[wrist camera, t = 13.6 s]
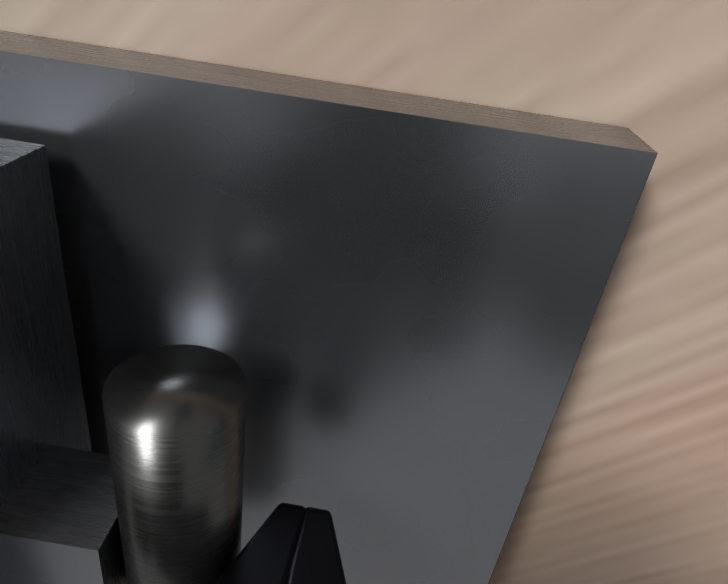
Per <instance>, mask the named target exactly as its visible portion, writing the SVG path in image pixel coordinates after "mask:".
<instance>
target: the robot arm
mask: <svg viewBox="0 0 728 584" xmlns="http://www.w3.org/2000/svg"><path fill="white" fill-rule="evenodd" d="M215 584H346V579H345V575H344V570H343V565H342V561H341V556H340V551H339V547H338V542H337V537H336V532H335V528H334V523H333V518H332V515H331V513H330V511H328V510H325V509H319V508H313V507H307V508H305V507H304V506H301V505H295V504H289V503H281V504H279V505H278V506H277V507H276V508H275V509H274V511H273V512H272V513H271V514H270V516H269V517H268V518H267V519H266V521H265V522H264V523H263V524H262V526H261V527H260V528H259V529H258V531H257V532H256V533H255V534H254V536H253V537H252V538H251V539H250V541H249V542H248V543H247V544H246V546H245V547H244V548H243V549H242V551H241V552H240V553H239V554H238V556H237V557H236V558H235V559H234V561H233V562H232V563H231V564H230V566H229V567H228V568H227V569H226V571H225V572H224V573H223V574H222V576H221V577H220V578H219V579H218V581H217V582H216V583H215Z"/></svg>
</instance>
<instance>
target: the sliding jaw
mask: <svg viewBox="0 0 728 584" xmlns="http://www.w3.org/2000/svg"><path fill="white" fill-rule="evenodd" d="M246 387H247V384H246V377H245V374H244V372H243V370H242V368H241V367H240V366H239V364H238V363H237V362H236V361H235V360H234V359H232V358H231V357H229V356H228V355H226V354H224V353H222V352H220V351H218V350H215V349H212V348H209V347H204V346H199V345H188V344H176V345H166V346H160V347H156V348H152V349H148V350H146V351H143V352H140V353H138V354H136V355H133V356H132V357H130V358H128V359H126V360H125V361H123V362H122V363H120V364H119V365H118V366H117V367H116V368H115V369H114V370H113V371H112V372H111V373H110V374H109V376H108V377H107V379H106V381H105V383H104V386H103V390H102V401H103V408H104V416H105V424H106V431H107V439H108V446H109V454H110V455H107V454H101V453H95V452H92V448H91V442H90V435H89V428H88V422H87V415H86V409H85V402H84V396H83V389H82V382H81V376H80V369H79V363H78V356H77V350H76V343H75V337H74V330H73V323H72V317H71V310H70V304H69V297H68V291H67V284H66V278H65V271H64V264H63V258H62V251H61V245H60V238H59V232H58V225H57V219H56V212H55V205H54V199H53V192H52V186H51V179H50V173H49V166H48V160H47V153H46V146H45V145H41V144H35V143H29V142H22V141H16V140H10V139H4V138H0V584H126V583H127V584H215V583H216V582H217V581H218V579H219V578H220V577H221V576H222V574H223V573H224V572H225V571H226V569H227V568H228V567H229V566H230V564H231V563H232V562H233V561H234V559H235V558H236V557H237V556H238V554H239V553H240V552H241V537H242V507H243V477H244V447H245V417H246Z"/></svg>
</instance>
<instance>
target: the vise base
mask: <svg viewBox="0 0 728 584" xmlns="http://www.w3.org/2000/svg"><path fill="white" fill-rule="evenodd" d="M0 138H4V139H10V140H16V141H22V142H29V143H35V144H41V145H45V146H46V153H47V160H48V166H49V173H50V179H51V186H52V192H53V199H54V205H55V212H56V219H57V225H58V232H59V238H60V245H61V251H62V258H63V264H64V271H65V278H66V284H67V291H68V297H69V304H70V310H71V317H72V323H73V330H74V337H75V343H76V350H77V356H78V363H79V369H80V376H81V382H82V389H83V396H84V402H85V409H86V415H87V422H88V428H89V435H90V442H91V448H92V452H95V453H101V454H107V455H110V454H109V446H108V439H107V431H106V424H105V416H104V408H103V401H102V390H103V386H104V383H105V381H106V379H107V377H108V376H109V374H110V373H111V372H112V371H113V370H114V369H115V368H116V367H117V366H118V365H119V364H120V363H122V362H123V361H125V360H126V359H128V358H130V357H132V356H133V355H136V354H138V353H140V352H143V351H146V350H148V349H152V348H156V347H160V346H166V345H176V344H188V345H199V346H204V347H209V348H212V349H215V350H218V351H220V352H222V353H224V354H226V355H228V356H229V357H231V358H232V359H234V360H235V361H236V362H237V363H238V364H239V366H240V367H241V368H242V370H243V372H244V374H245V377H246V384H247V387H246V417H245V447H244V477H243V507H242V537H241V551H242V549H243V548H244V547H245V546H246V544H247V543H248V542H249V541H250V539H251V538H252V537H253V536H254V534H255V533H256V532H257V531H258V529H259V528H260V527H261V526H262V524H263V523H264V522H265V521H266V519H267V518H268V517H269V516H270V514H271V513H272V512H273V511H274V509H275V508H276V507H277V506H278V505H279V504H281V503H289V504H295V505H301V506H304V507H305V508H307V507H313V508H319V509H325V510H328V511H330V513H331V515H332V518H333V523H334V528H335V532H336V537H337V542H338V547H339V551H340V556H341V561H342V565H343V570H344V575H345V579H346V584H488V582H489V580H490V577H491V575H492V572H493V569H494V567H495V564H496V562H497V559H498V557H499V554H500V552H501V549H502V547H503V544H504V542H505V539H506V537H507V534H508V531H509V529H510V526H511V524H512V521H513V519H514V516H515V514H516V511H517V509H518V506H519V504H520V501H521V498H522V496H523V493H524V491H525V488H526V486H527V483H528V481H529V478H530V476H531V473H532V471H533V468H534V465H535V463H536V460H537V458H538V455H539V453H540V450H541V448H542V445H543V443H544V440H545V438H546V435H547V433H548V430H549V427H550V425H551V422H552V420H553V417H554V415H555V412H556V410H557V407H558V405H559V402H560V400H561V397H562V394H563V392H564V389H565V387H566V384H567V382H568V379H569V377H570V374H571V372H572V369H573V367H574V364H575V361H576V359H577V356H578V354H579V351H580V349H581V346H582V344H583V341H584V339H585V336H586V334H587V331H588V329H589V326H590V323H591V321H592V318H593V316H594V313H595V311H596V308H597V306H598V303H599V301H600V298H601V296H602V293H603V290H604V288H605V285H606V283H607V280H608V278H609V275H610V273H611V270H612V268H613V265H614V263H615V260H616V258H617V255H618V252H619V250H620V247H621V245H622V242H623V240H624V237H625V235H626V232H627V230H628V227H629V225H630V222H631V219H632V217H633V214H634V212H635V209H636V207H637V204H638V202H639V199H640V197H641V194H642V192H643V189H644V186H645V184H646V181H647V179H648V176H649V174H650V171H651V169H652V166H653V164H654V161H655V159H656V156H657V154H658V153H657V152H656V151H654V150H653V149H652V148H651V147H650V146H649V145H647V144H646V143H645V142H644V141H643V140H641V139H640V138H639V137H638V136H637V135H636V134H634V133H633V132H632V131H631V130H630V129H628V128H624V127H618V126H611V125H605V124H599V123H592V122H586V121H579V120H573V119H566V118H560V117H554V116H547V115H541V114H534V113H528V112H521V111H515V110H508V109H502V108H496V107H489V106H483V105H476V104H470V103H463V102H457V101H450V100H444V99H438V98H431V97H425V96H418V95H412V94H405V93H399V92H393V91H386V90H380V89H373V88H367V87H360V86H354V85H347V84H341V83H335V82H328V81H322V80H315V79H309V78H302V77H296V76H289V75H283V74H277V73H270V72H264V71H257V70H251V69H244V68H238V67H231V66H225V65H219V64H212V63H206V62H199V61H193V60H186V59H180V58H174V57H167V56H161V55H154V54H148V53H141V52H135V51H128V50H122V49H116V48H109V47H103V46H96V45H90V44H83V43H77V42H70V41H64V40H58V39H51V38H45V37H38V36H32V35H25V34H19V33H13V32H6V31H0ZM126 584H127V583H126Z"/></svg>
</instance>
